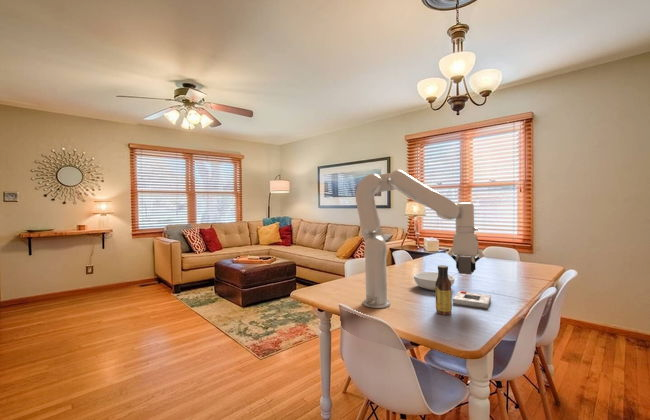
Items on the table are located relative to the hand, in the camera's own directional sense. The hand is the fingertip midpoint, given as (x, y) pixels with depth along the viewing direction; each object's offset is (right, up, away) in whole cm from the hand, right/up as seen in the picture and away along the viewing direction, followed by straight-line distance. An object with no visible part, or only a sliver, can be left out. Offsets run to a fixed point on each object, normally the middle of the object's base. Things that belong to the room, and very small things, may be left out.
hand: (465, 270), depth 137 cm
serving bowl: (-4, -16, +30) cm, 34 cm away
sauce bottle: (-13, -16, -8) cm, 23 cm away
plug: (0, -1, 0) cm, 1 cm away
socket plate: (+5, -16, +5) cm, 17 cm away
